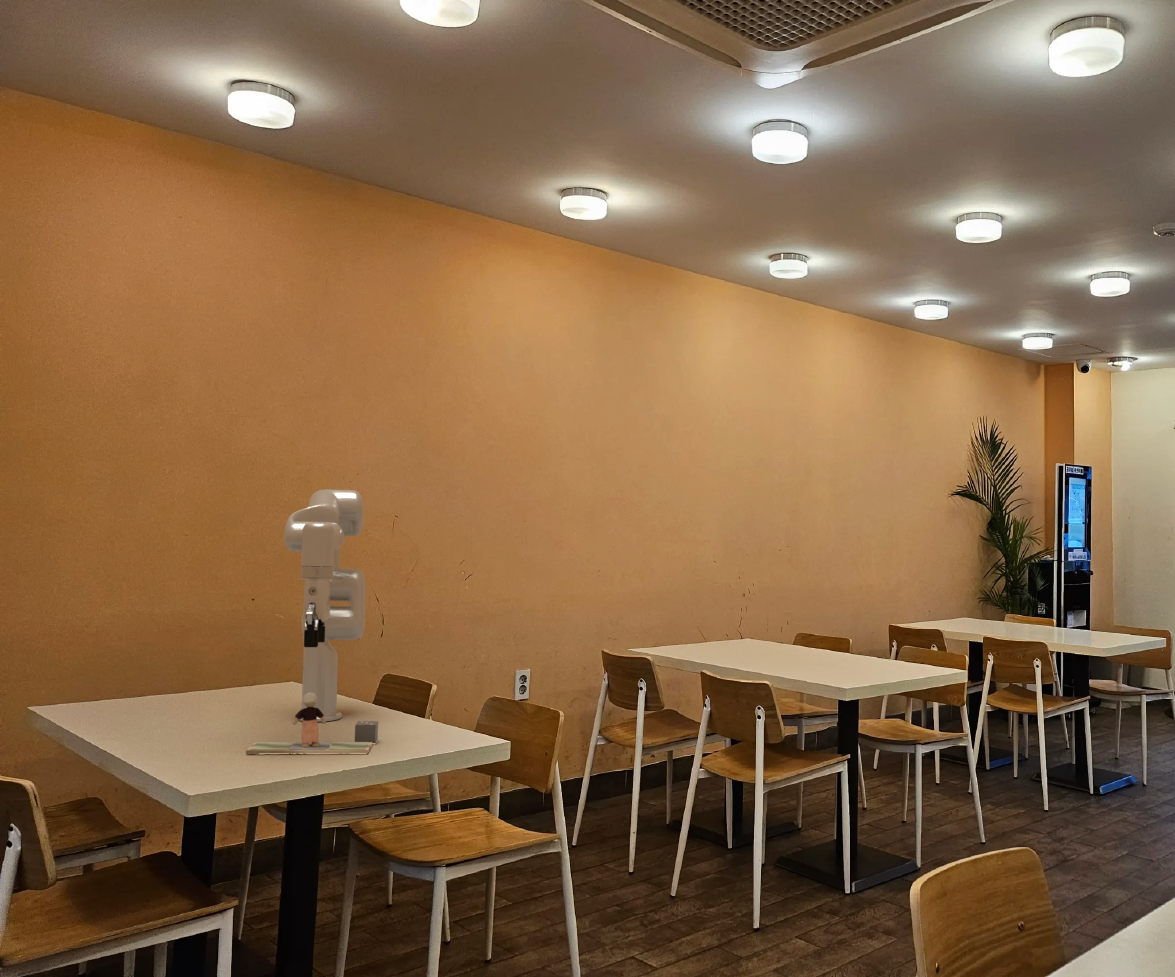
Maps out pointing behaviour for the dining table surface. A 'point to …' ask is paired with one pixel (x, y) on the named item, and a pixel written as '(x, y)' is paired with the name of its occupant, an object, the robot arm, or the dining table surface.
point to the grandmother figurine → (309, 720)
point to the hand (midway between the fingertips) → (314, 644)
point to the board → (296, 747)
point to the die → (366, 731)
